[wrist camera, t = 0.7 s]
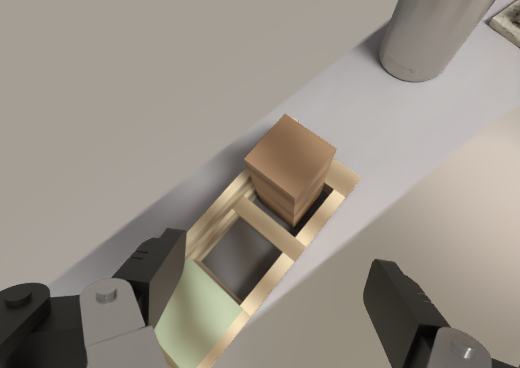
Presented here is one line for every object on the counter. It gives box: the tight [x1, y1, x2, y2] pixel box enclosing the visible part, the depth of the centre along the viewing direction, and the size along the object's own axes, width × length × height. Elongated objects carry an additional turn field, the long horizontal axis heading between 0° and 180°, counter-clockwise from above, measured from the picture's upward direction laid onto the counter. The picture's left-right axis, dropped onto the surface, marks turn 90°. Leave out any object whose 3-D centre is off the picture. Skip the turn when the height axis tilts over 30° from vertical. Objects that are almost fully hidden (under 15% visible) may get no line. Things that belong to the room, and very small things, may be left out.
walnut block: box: [244, 114, 337, 229], centre depth 28 cm, size 5×5×14 cm
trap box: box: [154, 116, 361, 368], centre depth 31 cm, size 28×10×6 cm, turn 139°
